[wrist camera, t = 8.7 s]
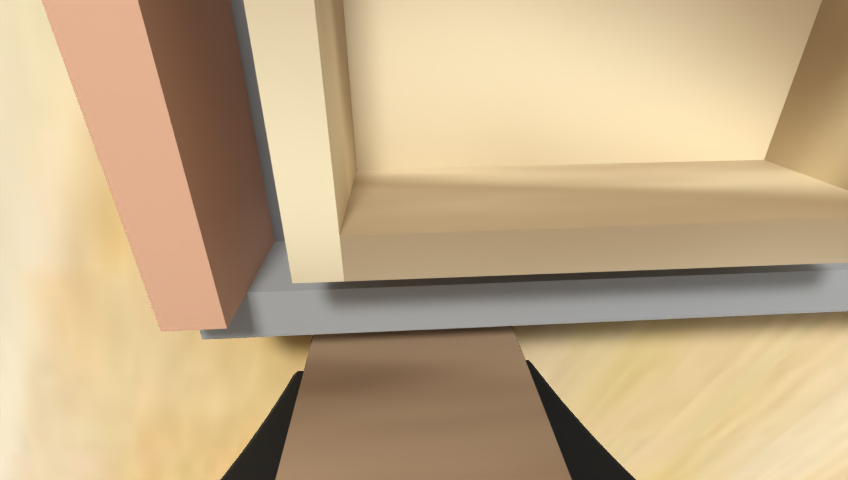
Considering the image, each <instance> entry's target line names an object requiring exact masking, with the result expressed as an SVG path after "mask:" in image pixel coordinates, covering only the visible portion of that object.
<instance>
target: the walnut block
mask: <svg viewBox="0 0 848 480" xmlns="http://www.w3.org/2000/svg"><path fill="white" fill-rule="evenodd" d="M275 480H572V479H571V476H570V474H569V471H568V469H567V466H566V464H565V461H564V458H563V456H562V453H561V451H560V448H559V446H558V443H557V440H556V438H555V435H554V433H553V430H552V428H551V425H550V422H549V420H548V417H547V415H546V412H545V409H544V407H543V404H542V402H541V399H540V397H539V394H538V391H537V389H536V386H535V384H534V381H533V379H532V376H531V373H530V371H529V368H528V366H527V363H526V361H525V358H524V355H523V353H522V350H521V348H520V345H519V343H518V340H517V337H516V335H515V332H514V330H513V327H512V326H498V327H475V328H452V329H429V330H407V331H384V332H361V333H338V334H315V335H313V338H312V342H311V346H310V350H309V353H308V357H307V361H306V365H305V369H304V372H303V376H302V380H301V384H300V388H299V392H298V395H297V399H296V403H295V407H294V411H293V414H292V418H291V422H290V426H289V430H288V433H287V437H286V441H285V445H284V449H283V452H282V456H281V460H280V464H279V468H278V472H277V475H276V479H275Z"/></svg>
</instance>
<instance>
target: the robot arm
mask: <svg viewBox="0 0 848 480" xmlns="http://www.w3.org/2000/svg"><path fill="white" fill-rule="evenodd" d="M525 361H526V363H527V366H528V368H529V371H530V373H531V376H532V379H533V381H534V384H535V386H536V389H537V391H538V394H539V397H540V399H541V402H542V404H543V407H544V409H545V412H546V415H547V417H548V420H549V422H550V425H551V428H552V430H553V433H554V435H555V438H556V440H557V443H558V446H559V448H560V451H561V453H562V456H563V458H564V461H565V464H566V466H567V469H568V471H569V474H570V476H571V479H572V480H636V479H635V478H634V477H633V476H632V475H631V474H630V473H628V472H627V471H626V470H625V469H624V468H623V467H622V466H621V465H620V464H619V463H618V462H617V461H616V460H615V459H614V458H613V457H612V456H611V454H610V453H609V452H608V451H607V450H606V449H605V448H604V447H603V446H602V445H601V444H600V443H599V442H598V441H597V440H596V439H595V438H594V437H593V436H592V435H591V433H590V432H589V431H588V430H587V429H586V428H585V427H584V426H583V424H582V423H581V422H580V421H579V420H578V419H577V418H576V417H575V416H574V414H573V413H572V412H571V411H570V410H569V409H568V407H567V406H566V405H565V404H564V403H563V402H562V400H561V399H560V398H559V397H558V396H557V394H556V393H555V392H554V391H553V389H552V388H551V387H550V386H549V384H548V383H547V382H546V381H545V379H544V378H543V377H542V376H541V374H540V373H539V372H538V371H537V369H536V368H535V367H534V365H533V364H532V363H531V362H530V361H529V360H525ZM303 372H304V371H297V372H296V373H295V374H294V375H293V377H292V379H291V380H290V382H289V384H288V385H287V387H286V388H285V390H284V392H283V393H282V395H281V396H280V398H279V400H278V401H277V403H276V404H275V406H274V407H273V409H272V410H271V412H270V413H269V415H268V416H267V418H266V419H265V421H264V422H263V423H262V425H261V426H260V428H259V429H258V431H257V432H256V433H255V435H254V436H253V438H252V439H251V440H250V442H249V443H248V445H247V446H246V447H245V449H244V450H243V452H242V453H241V454H240V455H239V457H238V458H237V459H236V461H235V462H234V463H233V464H232V466H231V467H230V468H229V470H228V471H227V472H226V473H225V475H224V476H223V477H222V479H221V480H275V479H276V475H277V472H278V468H279V464H280V460H281V456H282V452H283V449H284V445H285V441H286V437H287V433H288V430H289V426H290V422H291V418H292V414H293V411H294V407H295V403H296V399H297V395H298V392H299V388H300V384H301V380H302V376H303Z"/></svg>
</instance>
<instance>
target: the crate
mask: <svg viewBox="0 0 848 480" xmlns="http://www.w3.org/2000/svg"><path fill="white" fill-rule="evenodd" d="M243 1H244V7H245V13H246V18H247V24H248V30H249V36H250V41H251V47H252V53H253V59H254V65H255V70H256V76H257V82H258V88H259V93H260V99H261V105H262V111H263V117H264V122H265V128H266V134H267V140H268V145H269V151H270V157H271V163H272V169H273V174H274V180H275V186H276V192H277V197H278V203H279V209H280V215H281V221H282V226H283V232H284V238H285V244H286V249H287V255H288V261H289V267H290V272H291V278H292V283H316V282H343V281H370V280H396V279H423V278H449V277H476V276H502V275H529V274H555V273H582V272H608V271H635V270H662V269H688V268H715V267H741V266H768V265H794V264H821V263H847V262H848V0H243Z"/></svg>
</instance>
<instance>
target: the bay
mask: <svg viewBox="0 0 848 480" xmlns="http://www.w3.org/2000/svg"><path fill="white" fill-rule="evenodd" d="M42 2H43V5H44V8H45V11H46V14H47V16H48V19H49V22H50V25H51V27H52V30H53V33H54V36H55V39H56V41H57V44H58V47H59V50H60V52H61V55H62V58H63V61H64V63H65V66H66V69H67V72H68V75H69V77H70V80H71V83H72V86H73V88H74V91H75V94H76V97H77V100H78V102H79V105H80V108H81V111H82V113H83V116H84V119H85V122H86V125H87V127H88V130H89V133H90V136H91V138H92V141H93V144H94V147H95V149H96V152H97V155H98V158H99V161H100V163H101V166H102V169H103V172H104V174H105V177H106V180H107V183H108V186H109V188H110V191H111V194H112V197H113V199H114V202H115V205H116V208H117V211H118V213H119V216H120V219H121V222H122V224H123V227H124V230H125V233H126V235H127V238H128V241H129V244H130V247H131V249H132V252H133V255H134V258H135V260H136V263H137V266H138V269H139V272H140V274H141V277H142V280H143V283H144V285H145V288H146V291H147V294H148V297H149V299H150V302H151V305H152V308H153V310H154V313H155V316H156V319H157V321H158V324H159V327H160V330H161V331H181V330H200V333H201V336H202V339H224V338H247V337H270V336H293V335H315V334H338V333H361V332H384V331H407V330H429V329H452V328H475V327H498V326H520V325H543V324H566V323H589V322H612V321H634V320H657V319H680V318H703V317H726V316H748V315H771V314H794V313H817V312H840V311H848V262H847V263H821V264H794V265H768V266H741V267H715V268H688V269H662V270H635V271H608V272H582V273H555V274H529V275H502V276H476V277H449V278H423V279H396V280H370V281H343V282H316V283H292V278H291V272H290V267H289V261H288V255H287V249H286V244H285V238H284V232H283V226H282V221H281V215H280V209H279V203H278V197H277V192H276V186H275V180H274V174H273V169H272V163H271V157H270V151H269V145H268V140H267V134H266V128H265V122H264V117H263V111H262V105H261V99H260V93H259V88H258V82H257V76H256V70H255V65H254V59H253V53H252V47H251V41H250V36H249V30H248V24H247V18H246V13H245V7H244V1H243V0H42Z"/></svg>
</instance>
